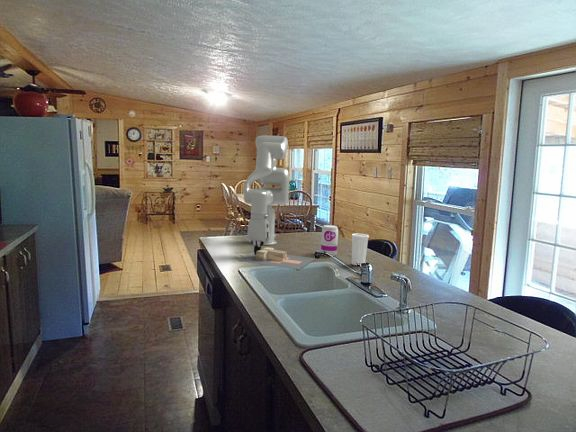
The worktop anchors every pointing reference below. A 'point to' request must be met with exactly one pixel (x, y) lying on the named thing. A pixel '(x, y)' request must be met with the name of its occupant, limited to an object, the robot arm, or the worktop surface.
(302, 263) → the mat
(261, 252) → the t block
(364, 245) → the cup
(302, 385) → the worktop surface
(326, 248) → the supplement can
